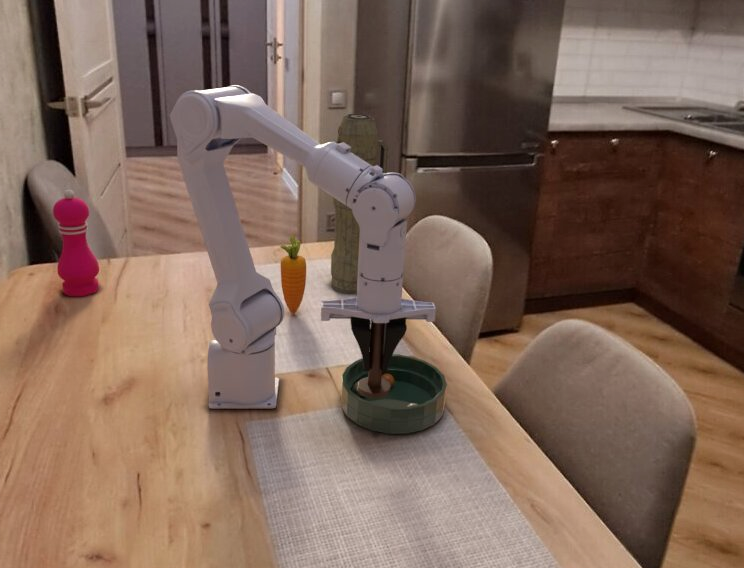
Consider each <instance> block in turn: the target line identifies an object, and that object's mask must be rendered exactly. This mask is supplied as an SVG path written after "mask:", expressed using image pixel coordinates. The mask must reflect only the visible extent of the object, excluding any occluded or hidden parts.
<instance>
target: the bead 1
mask: <svg viewBox="0 0 744 568" xmlns="http://www.w3.org/2000/svg"><path fill="white" fill-rule="evenodd" d="M353 389H354V393H355V394H356V395H358V396H362V395H361V394H360V393H359V392H358V382H357V383H356V384H355V385H354V388H353Z"/></svg>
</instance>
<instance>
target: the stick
mask: <svg viewBox="0 0 744 568" xmlns="http://www.w3.org/2000/svg"><path fill="white" fill-rule="evenodd" d="M370 328H371V338H370V349H369V357H370V369H369V371H368V377H366V378H363V379H361V380H360V381H359V382H358V392H359V393H360V394H361V395H362V396H364V397H367V398H372V399H378V398H383V397H385V396H387V395H388V394H389V393H390V388H391V385H390V383H389V382H388V381H387V380H386V379H384V378H381V377H382V360H383V347H384V332H385V323H374V322H373V321H372V320H370Z"/></svg>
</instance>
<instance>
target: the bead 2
mask: <svg viewBox="0 0 744 568" xmlns="http://www.w3.org/2000/svg"><path fill="white" fill-rule="evenodd" d="M381 378H384V379H386V380H387V381H388V382H389V383H390V385H391V387H392V386H393V384H394V377H393V376H392V375H391V374H384V375H382V377H381Z"/></svg>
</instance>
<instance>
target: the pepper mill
mask: <svg viewBox="0 0 744 568" xmlns="http://www.w3.org/2000/svg"><path fill="white" fill-rule="evenodd" d="M52 214H53V218H54V219H55V220H56V221H57V222H58V224H57V227H58V232H59V234H61V238H62V251H61V254H60V256H59V259H58V262H57V275H58V277H59V278H60V279H61V280H63V281H62V283H61V286H62V293H63V294H64V295H66V296H69V297H87V296H90V295H92V294H95V293H96V292H98V291H99V289H100V287H99V280H98V278H96V277H97V276H98V274H99V272H100V265H99V262H98V259H97V258H96V256H95V254H94V253H93V251H92V250H91V248H90V246H89V244H88V240H87V231H89V227H88V225H89V224H88V222H87V219H88V218H89V216H90V209H89V206H88V204H87V203H86V202H85V201H84V200H83V199H81V198H79V197H75V191H73V190H72V189H66V190H64V192H63V198H60V199H58V200H57V201H56V202H55V204H54V205H53V208H52Z"/></svg>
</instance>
